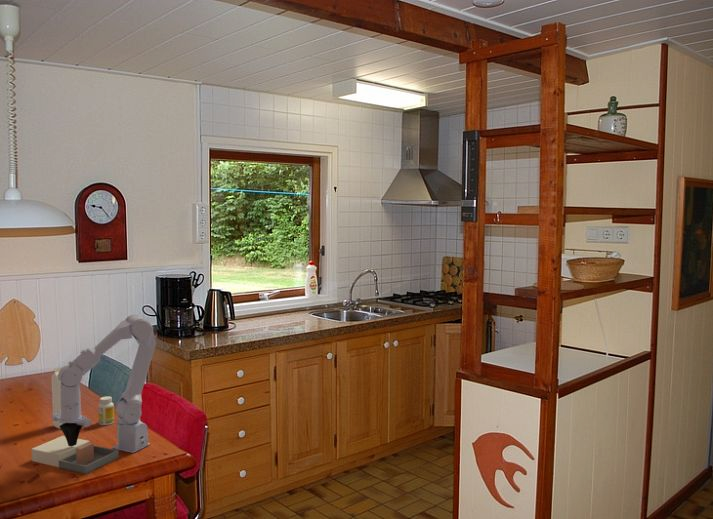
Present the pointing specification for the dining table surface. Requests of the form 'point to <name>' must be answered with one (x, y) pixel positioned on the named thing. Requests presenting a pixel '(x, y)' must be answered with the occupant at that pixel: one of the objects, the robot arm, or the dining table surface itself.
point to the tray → (100, 459)
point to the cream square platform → (55, 451)
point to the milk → (56, 396)
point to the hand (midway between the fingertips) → (72, 445)
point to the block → (85, 453)
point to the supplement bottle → (106, 411)
